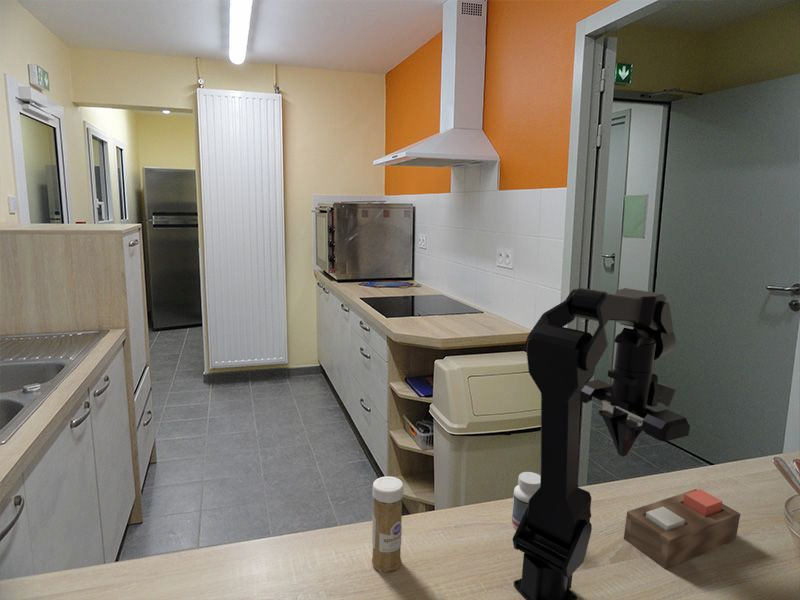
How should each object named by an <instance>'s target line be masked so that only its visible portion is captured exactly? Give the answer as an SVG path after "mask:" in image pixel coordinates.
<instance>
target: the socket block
mask: <svg viewBox="0 0 800 600" xmlns="http://www.w3.org/2000/svg"><path fill="white" fill-rule="evenodd" d="M696 490H698V489H696V488H695V489H692V490H688V491H687V492H683V493H679V494H676V495H674V496H671V497H668V498H664V499H661V500H658V501H656V502H652V503H650V504H647V505H642V506H640V507H637V508H635V509H630V510H628V511H627V510H626V518H625V525H624V532H623V539H624V540H625V541H626V542H628V543H629V544H631V545H632V546H633V547H635V548H636V549H637V550H639V551H640V553H643V554H644V555H646V556H647V557H648V558H650V560H652V561H654V562H655V563H657V564H658V565H659V566H660V567H662V568H663V569H665V570H666V569H669V568H671V567H674V566H676V565H678V564H681V563H684V562H686V561H689V560H690V559H694V558H696V557H699V556H701V555H703V554H706V553H708V552H711V551H714V550H715V549H718V548H721V547H724V546H725V545H728V544H730V543H733V542H735V541H737V535H738V530H739V523H740V518H741V513H740V512H738V510H735V509H733V508H731V507H729V506H728V505H726V504H724V503H722V507H721V512H720V513H717V514H714V515H711V516H709V517H704V516H702V515H701V514H699V513H697V512H696V511H694V510H692V509H691V508H689V507H687V506H686V505H684V504H683V502H684V495H685V494H687V493H690V492H693V491H696ZM660 507H665V508H667V509H668V510H670V511H671V512H673V513H675V514H676V515H678V516H680V517H681V518H683V519H684V520H685V523H684V526H681V527H678V528H676V529H673V530H670V531H666V530H665V529H663V528H662V527H660V526H659V525H657V524H656V523H654V522H653V521H651V520H650V519H648V518H647V517H646V512H648V511H651V510H654V509H657V508H660Z"/></svg>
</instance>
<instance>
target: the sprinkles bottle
mask: <svg viewBox="0 0 800 600" xmlns="http://www.w3.org/2000/svg"><path fill="white" fill-rule="evenodd" d="M403 496H404V483H403V481H402V480H401V479H399V478H398V477H395V476H381V477H379V478H376V479H375V480H374V481H373V483H372V498H373V507H372V510H373V511H372V532H371V533H372V535H371V537H372V539H371V542H372V543H371V544H372V558H371V565H372V566H373V568H374V569H375V570H377V571H379V572H383V573H384V572H385V573H387V572H388V573H390V572H394V571H395V570H397V569H398V568H399V567H400V565H401V563H402V559H401V548H402V547H401V545H402V534H403V533H402V531H403V530H402V527H403V526H402V521H403V520H402V517H403V514H402V511H403V504H402V503H403Z"/></svg>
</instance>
